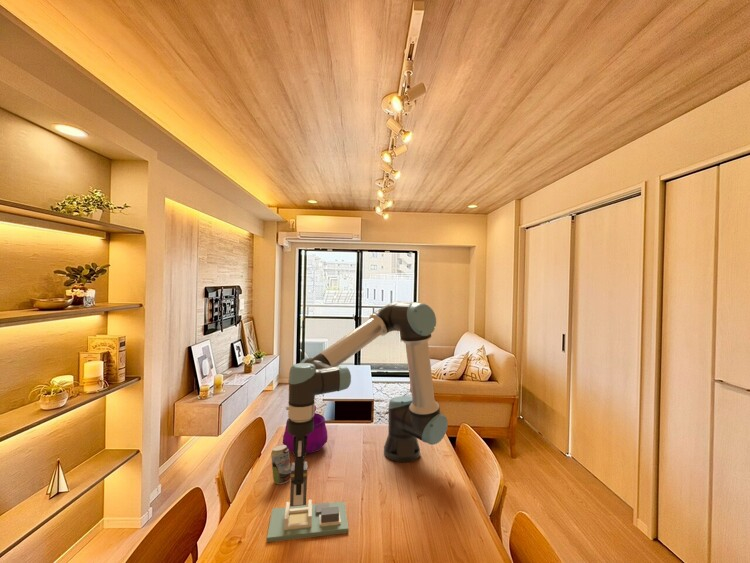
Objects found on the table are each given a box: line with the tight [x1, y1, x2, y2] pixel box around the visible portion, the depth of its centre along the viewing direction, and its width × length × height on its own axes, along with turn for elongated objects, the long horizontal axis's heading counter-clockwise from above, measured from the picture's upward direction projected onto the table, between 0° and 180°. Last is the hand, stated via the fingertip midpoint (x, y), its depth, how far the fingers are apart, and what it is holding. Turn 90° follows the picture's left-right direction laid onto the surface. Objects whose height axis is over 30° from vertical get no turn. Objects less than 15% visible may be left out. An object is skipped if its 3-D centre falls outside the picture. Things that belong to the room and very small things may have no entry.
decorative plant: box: [282, 405, 328, 454], centre depth 141 cm, size 19×19×30 cm
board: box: [266, 499, 350, 543], centre depth 96 cm, size 22×12×4 cm, turn 101°
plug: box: [289, 461, 308, 507], centre depth 96 cm, size 5×5×10 cm
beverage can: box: [270, 444, 291, 485], centre depth 117 cm, size 6×7×12 cm
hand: (298, 498), depth 96 cm, fingers closed on plug, 4 cm apart
